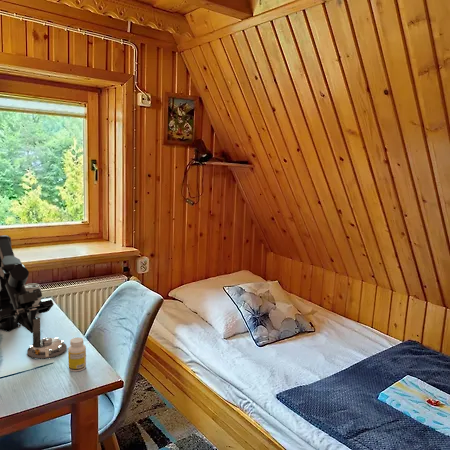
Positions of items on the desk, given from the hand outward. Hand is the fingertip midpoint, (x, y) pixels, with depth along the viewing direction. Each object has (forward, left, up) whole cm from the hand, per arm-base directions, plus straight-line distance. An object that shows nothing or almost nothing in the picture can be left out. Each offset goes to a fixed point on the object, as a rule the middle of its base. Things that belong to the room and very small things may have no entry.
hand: (33, 332), depth 148 cm
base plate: (+3, +3, -7) cm, 9 cm away
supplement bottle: (+20, -3, -8) cm, 22 cm away
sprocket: (+3, +3, -6) cm, 8 cm away
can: (-28, +30, -8) cm, 41 cm away
